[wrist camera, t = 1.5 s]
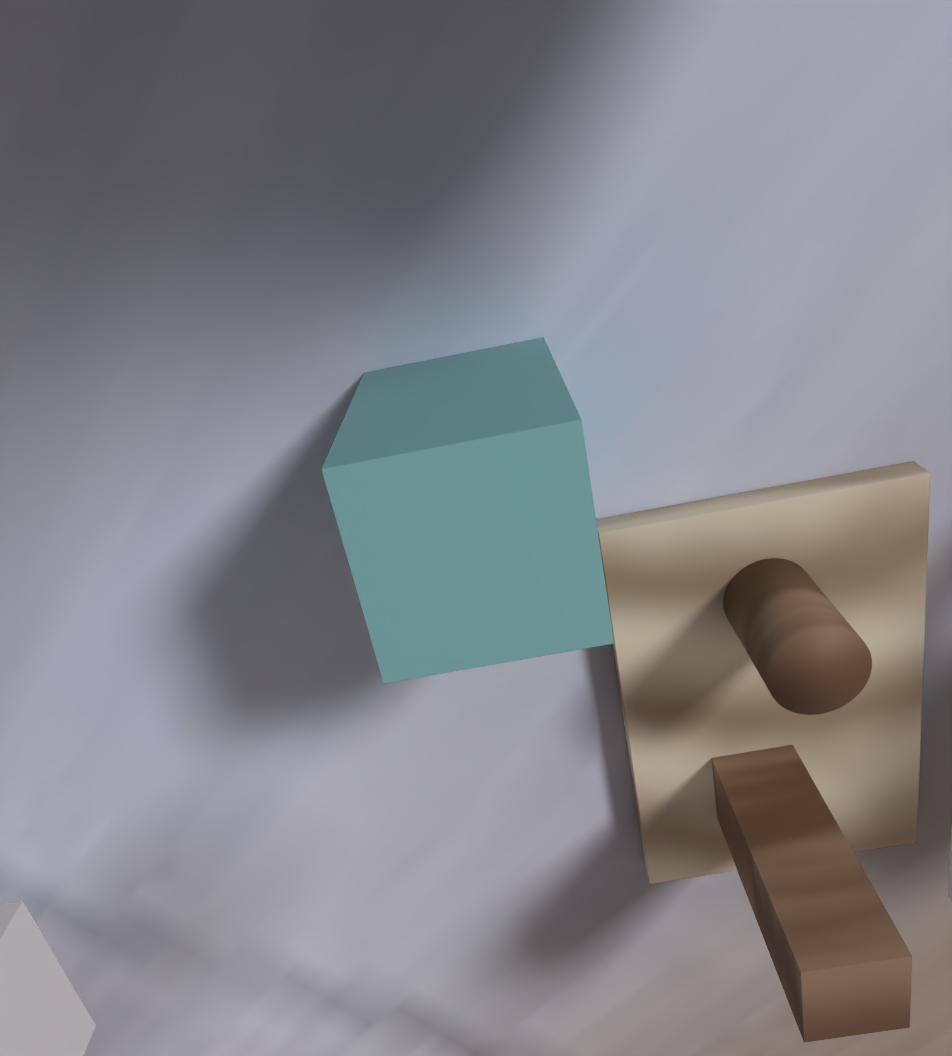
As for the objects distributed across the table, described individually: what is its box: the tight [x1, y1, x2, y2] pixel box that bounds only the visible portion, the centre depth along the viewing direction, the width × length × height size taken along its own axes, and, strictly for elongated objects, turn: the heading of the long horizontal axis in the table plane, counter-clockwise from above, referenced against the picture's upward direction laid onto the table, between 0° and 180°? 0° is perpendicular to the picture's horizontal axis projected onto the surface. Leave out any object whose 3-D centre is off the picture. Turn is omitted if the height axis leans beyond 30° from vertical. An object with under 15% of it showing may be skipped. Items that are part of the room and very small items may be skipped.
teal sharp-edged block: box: [321, 338, 614, 683], centre depth 26 cm, size 6×6×10 cm
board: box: [596, 461, 930, 1042], centre depth 30 cm, size 18×12×11 cm, turn 11°
